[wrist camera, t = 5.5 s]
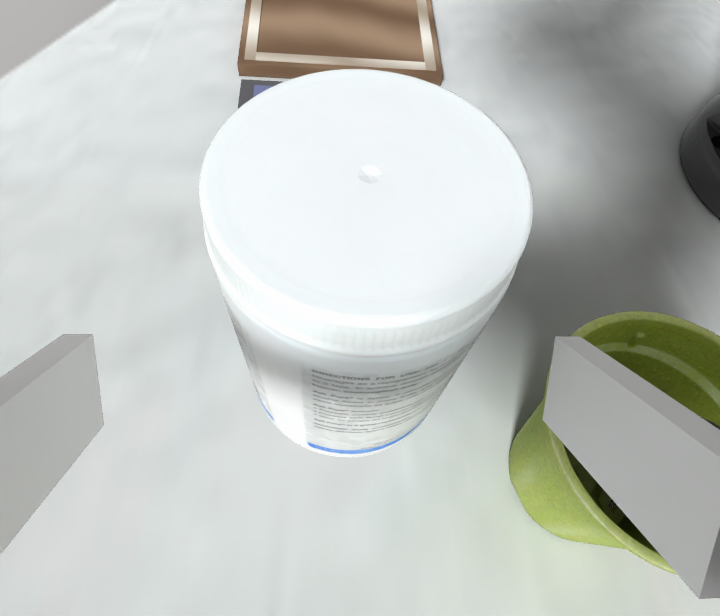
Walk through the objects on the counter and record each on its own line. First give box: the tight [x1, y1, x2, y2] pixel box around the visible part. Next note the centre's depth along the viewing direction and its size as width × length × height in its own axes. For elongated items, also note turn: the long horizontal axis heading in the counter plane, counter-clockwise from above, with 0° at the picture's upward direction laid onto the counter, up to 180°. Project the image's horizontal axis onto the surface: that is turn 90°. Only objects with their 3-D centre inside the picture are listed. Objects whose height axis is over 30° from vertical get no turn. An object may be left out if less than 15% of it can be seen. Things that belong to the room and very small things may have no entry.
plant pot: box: [509, 311, 720, 575], centre depth 21 cm, size 9×9×9 cm
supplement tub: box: [199, 69, 533, 457], centre depth 20 cm, size 10×10×15 cm
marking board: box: [237, 0, 443, 86], centre depth 40 cm, size 15×15×1 cm
